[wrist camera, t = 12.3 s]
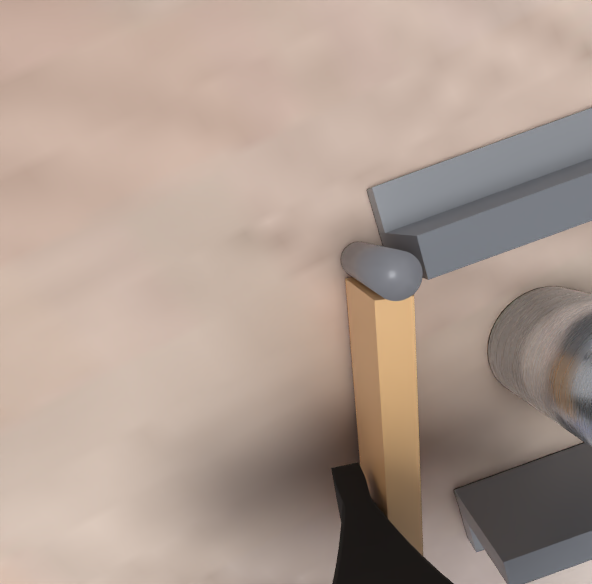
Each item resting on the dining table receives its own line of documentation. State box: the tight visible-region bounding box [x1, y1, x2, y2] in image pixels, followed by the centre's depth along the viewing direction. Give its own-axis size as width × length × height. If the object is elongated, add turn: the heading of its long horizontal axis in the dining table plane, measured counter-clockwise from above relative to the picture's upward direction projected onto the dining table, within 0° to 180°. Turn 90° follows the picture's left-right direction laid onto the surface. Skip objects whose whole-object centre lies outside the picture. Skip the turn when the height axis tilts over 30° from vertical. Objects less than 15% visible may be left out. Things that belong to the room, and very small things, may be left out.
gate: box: [341, 242, 423, 556], centre depth 11 cm, size 12×1×4 cm, turn 6°
